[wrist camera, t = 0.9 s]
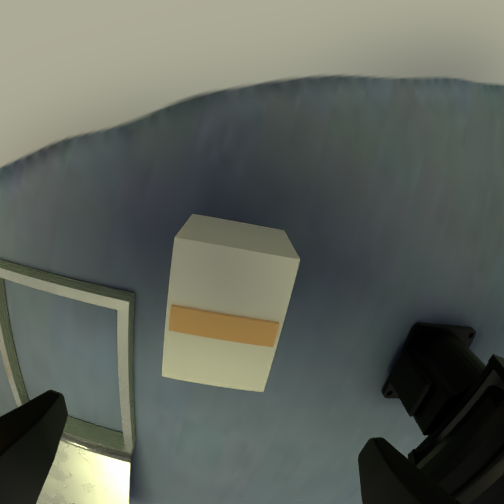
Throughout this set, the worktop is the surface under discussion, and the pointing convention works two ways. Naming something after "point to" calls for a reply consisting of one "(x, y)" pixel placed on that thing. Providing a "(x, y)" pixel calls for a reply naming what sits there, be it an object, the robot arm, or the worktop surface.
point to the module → (226, 302)
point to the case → (75, 431)
